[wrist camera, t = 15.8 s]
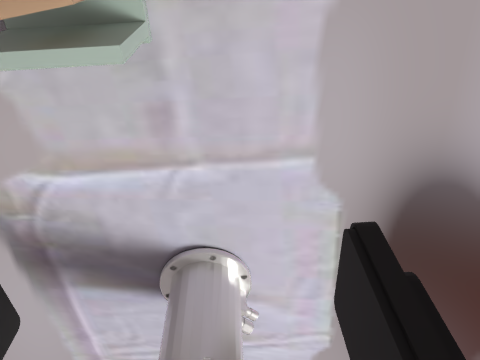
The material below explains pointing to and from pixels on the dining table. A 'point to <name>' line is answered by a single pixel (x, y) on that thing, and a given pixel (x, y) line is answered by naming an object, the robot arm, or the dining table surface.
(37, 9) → the wooden block
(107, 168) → the dining table surface
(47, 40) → the shelf rack
